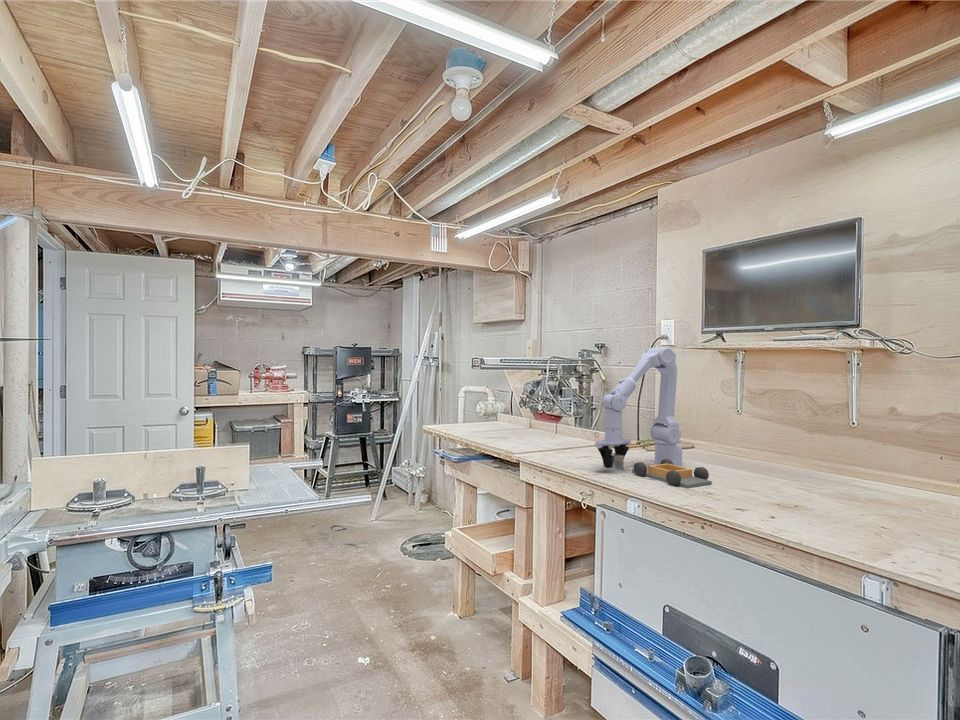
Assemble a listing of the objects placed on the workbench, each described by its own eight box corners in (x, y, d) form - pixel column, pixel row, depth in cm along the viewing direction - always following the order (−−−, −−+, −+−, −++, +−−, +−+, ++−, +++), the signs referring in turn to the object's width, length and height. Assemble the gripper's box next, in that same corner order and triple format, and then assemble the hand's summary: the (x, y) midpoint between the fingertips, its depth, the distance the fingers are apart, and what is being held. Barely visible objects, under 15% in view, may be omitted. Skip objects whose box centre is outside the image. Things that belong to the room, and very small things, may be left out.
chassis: (658, 469, 173) (658, 456, 173) (715, 483, 153) (715, 469, 153) (628, 472, 167) (628, 460, 167) (683, 488, 147) (683, 474, 147)
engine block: (611, 469, 173) (611, 452, 173) (623, 472, 168) (623, 455, 168) (602, 470, 172) (603, 453, 172) (614, 473, 166) (614, 456, 166)
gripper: (621, 425, 177) (620, 462, 177) (589, 427, 170) (589, 466, 170) (635, 428, 170) (634, 466, 170) (603, 430, 164) (602, 470, 164)
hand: (613, 466), depth 170 cm, fingers open, 5 cm apart
